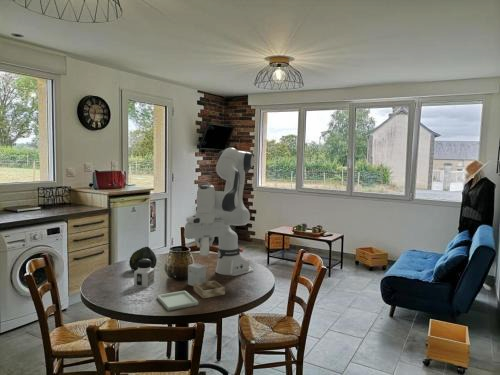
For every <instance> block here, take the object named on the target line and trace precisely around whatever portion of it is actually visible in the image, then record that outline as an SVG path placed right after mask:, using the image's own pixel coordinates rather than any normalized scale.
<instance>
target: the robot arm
mask: <svg viewBox="0 0 500 375" xmlns="http://www.w3.org/2000/svg"><path fill="white" fill-rule="evenodd" d="M217 153H218V154H217V156H216V166H215V171H216V174H217V175H218V176H219V177H220V178H221V179H222V180H224V181H225V184H224V189H223V190H215V186H214V185H213V184H210V183H209V184H208V183H207V184H201V185H199V186H198V188H197V192H196V213H195V214H193V215H190V216H188V217H186V219H185V220H186V223H185V226H184V232H183V236H184V238H185V239H187V240H194V241H195V242H196V247H197V248H200V247H201V243H200V238H204V237H203V236H204V235H210V237H209V247H212V246H213V242H214V241H215V238H216V237H217V238H218V247H217V263H216V267H215V270H214V271H215V273H217V274H220V275H223V276H233V277H236V276H241V275H244V274H248V273H252V272H254V268H252V267H251V266H250V262H249V260H248V259H247V257H245V256H243V255H242V254H241V253H243V252H244V249H243V248H239V246H238V244H239V242H238V241H239V240H238V239H239V238H238V234H237V232H235V231H234V230H233V229H232V228H231V226H238V227H239V226H246V225H247V224H249V222H250V219H251V214H250V211H249V209H248V208H247V207H246V206H245V204H244V200H243V194H244V187H245V183H246V174H247V173H248V171H250V170H251V169H252V168H253V167H254V164H255V156H254V154H253V153H252V152H250V151H244V150H243V151H242V150H238V149H236V148H235V147H228V148H227V147H226V148H225V149H224V150H223V149H222V150H221V151H219V152H217Z"/></svg>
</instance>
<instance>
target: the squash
mask: <svg viewBox="0 0 500 375" xmlns="http://www.w3.org/2000/svg"><path fill="white" fill-rule="evenodd" d="M141 259H149V260H151V268H154V269H155V267H156V265H157V262H158V261H157V257H156V254H155V252H154V251H153V250H152V249H151V247H149V246H144V247H141V248H140V249H139V248H138V249H137V250H135V251H134V252H133V253H132V254H131V256H130V258H129V262H128V263H129V268H130V269H131V270H132V271H136V270H138V261H139V260H141Z"/></svg>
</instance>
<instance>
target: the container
mask: <svg viewBox="0 0 500 375" xmlns="http://www.w3.org/2000/svg"><path fill="white" fill-rule="evenodd" d="M133 271H134V270H133ZM154 283H155V267H154V268H151V260H149V259H141V260H139V261H138V270H136V271H134V273H133V286H135V287H142V288H148V287H150V286H151V285H153V284H154Z"/></svg>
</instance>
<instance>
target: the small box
mask: <svg viewBox="0 0 500 375" xmlns="http://www.w3.org/2000/svg"><path fill="white" fill-rule="evenodd" d="M202 282H207V265H204V264H200V263H196V262H194V263H192V264H188V265H187V285H189V286H191V287H194V284H196V283H202Z"/></svg>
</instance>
